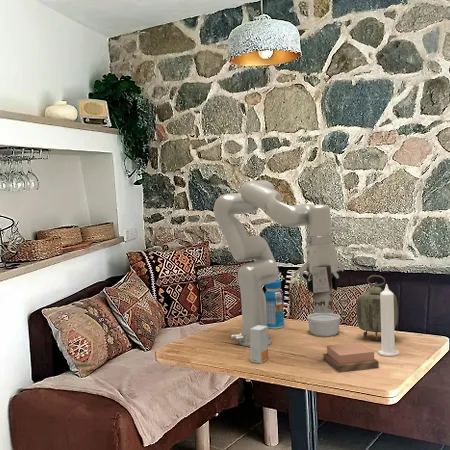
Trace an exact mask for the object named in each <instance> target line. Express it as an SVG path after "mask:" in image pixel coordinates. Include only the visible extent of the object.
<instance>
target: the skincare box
mask: <svg viewBox="0 0 450 450" xmlns="http://www.w3.org/2000/svg"><path fill="white" fill-rule="evenodd" d="M268 337H269V328H268V326H261V325H257V326H255V327H253V328H251V329H250V347H249V348H250V362H251V363H257V364H262V363H264V362H265V361H267V360H269V359H270V358H269V357H270V355H269V345H268Z"/></svg>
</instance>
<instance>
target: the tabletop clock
mask: <svg viewBox="0 0 450 450" xmlns="http://www.w3.org/2000/svg"><path fill="white" fill-rule="evenodd" d="M370 278H381V279H382V280H383V283H379V284H378V282H374V283H371V282H370V281H369V279H370ZM366 281H367V284H368V285H370V286H372V287H371V288H370V289H369V291H366V292H364V293H362V294H360V295H359V296H358V298H357V300H356V313H355V314H356V321H357V325H358V328H359V329H360V330H362V331H364V332H363V333H362V335H363V336H364V337H367V336H368V332H371V333H375V336H374V337H373V340H374V341H376V342H377V341H379V337H378V334H379V333H381V305H380V293H381V292H383V291H384V290H383V288H382V286H384V285H386V284H385V283H386V278H385V277H383V276H382V275H379V274H373V275H372V274H371V275H370V276H368V277H367V278H366ZM393 297H394V329H395V328H396V326H397V324H398V321H399V305H398V304H399V303H398V300H397V299H398V298H397V296H396V295H395V294H394V293H393ZM395 337H396V335H395V334H394V338H395Z"/></svg>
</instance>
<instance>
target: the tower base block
mask: <svg viewBox="0 0 450 450" xmlns="http://www.w3.org/2000/svg"><path fill="white" fill-rule="evenodd" d="M322 357H323V358H322V359H323V362H325V363H326V364H328V366H330V367H331V369H332V368H333V369H334V370H335V371H336V372H337V373H338V374H339V373H349V372H358V371H364V370H372V369H380V366H379V365H380V363H379V360H377V359H376V358H374V361H366V362H357V363H349V364H339V363H338V362H337V361H335V360H334V359H333V358H332V357H330V356H329V355H328V354H327V353H323V354H322Z"/></svg>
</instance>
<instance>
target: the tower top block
mask: <svg viewBox="0 0 450 450" xmlns="http://www.w3.org/2000/svg"><path fill="white" fill-rule="evenodd" d="M326 352H327V354H328V355H329V356H330V357H332V358H333V359H334V360H335V361H337V362H338V363H339V364H349V363H357V362H366V361H374V359H375V351H374V350H372V348H371V349H370V348H369V347H367V346H366V345H365V344H363V343H361V342H360V341H358V342H357V341H356V342H348V343H336V344H329V345H327V344H326Z"/></svg>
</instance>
